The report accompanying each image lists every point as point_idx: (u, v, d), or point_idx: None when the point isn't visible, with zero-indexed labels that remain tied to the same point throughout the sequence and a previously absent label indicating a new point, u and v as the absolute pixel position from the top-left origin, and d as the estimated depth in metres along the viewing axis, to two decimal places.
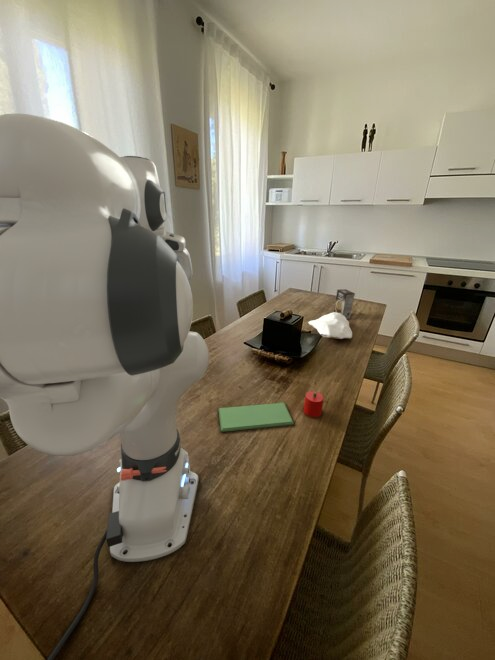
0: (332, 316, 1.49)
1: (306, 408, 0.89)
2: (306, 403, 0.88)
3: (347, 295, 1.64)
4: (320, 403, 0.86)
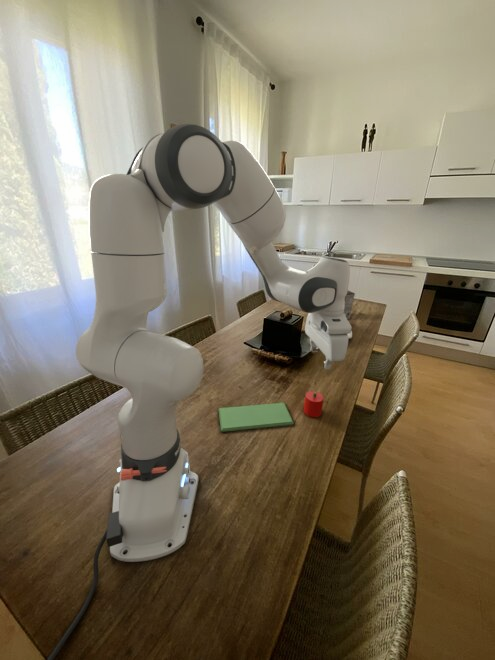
0: None
1: (306, 408, 0.89)
2: (306, 403, 0.88)
3: (347, 295, 1.64)
4: (320, 403, 0.86)
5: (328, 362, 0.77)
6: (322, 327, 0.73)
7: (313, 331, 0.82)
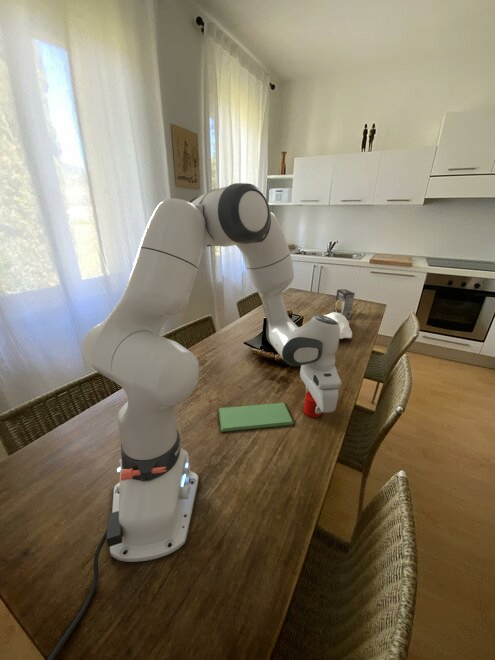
0: (332, 316, 1.49)
1: (306, 408, 0.89)
2: (306, 403, 0.88)
3: (347, 295, 1.64)
4: None
5: (319, 408, 0.84)
6: (314, 381, 0.79)
7: (307, 378, 0.89)
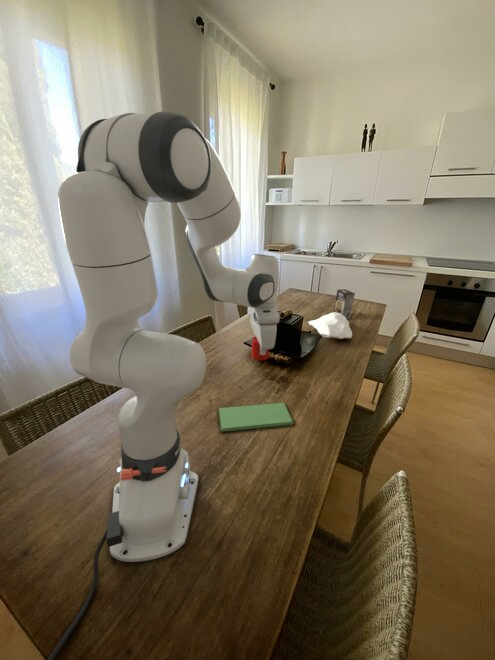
0: (332, 316, 1.49)
1: (252, 351, 0.89)
2: (252, 346, 0.89)
3: (347, 295, 1.64)
4: None
5: (262, 348, 0.85)
6: (254, 318, 0.80)
7: (253, 322, 0.90)
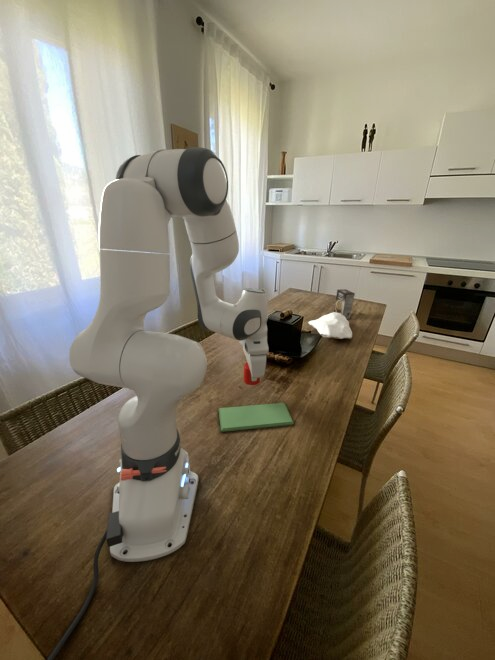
0: (332, 316, 1.49)
1: (244, 377, 0.95)
2: (244, 372, 0.94)
3: (347, 295, 1.64)
4: None
5: None
6: (245, 348, 0.85)
7: (245, 349, 0.95)
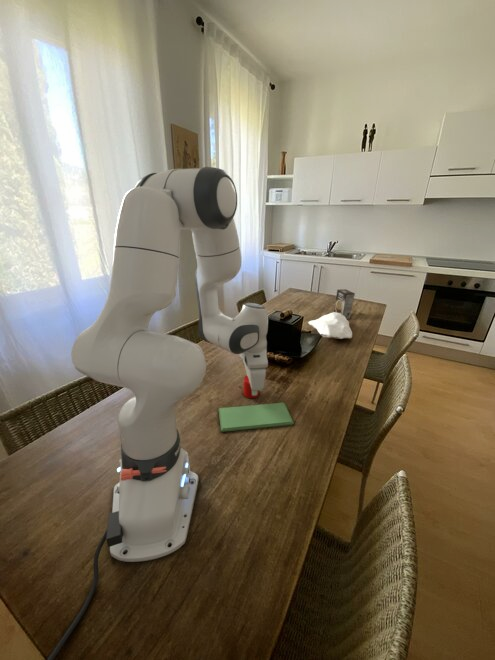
0: (332, 316, 1.49)
1: (244, 390, 0.97)
2: (244, 385, 0.96)
3: (347, 295, 1.64)
4: None
5: None
6: (245, 361, 0.87)
7: None
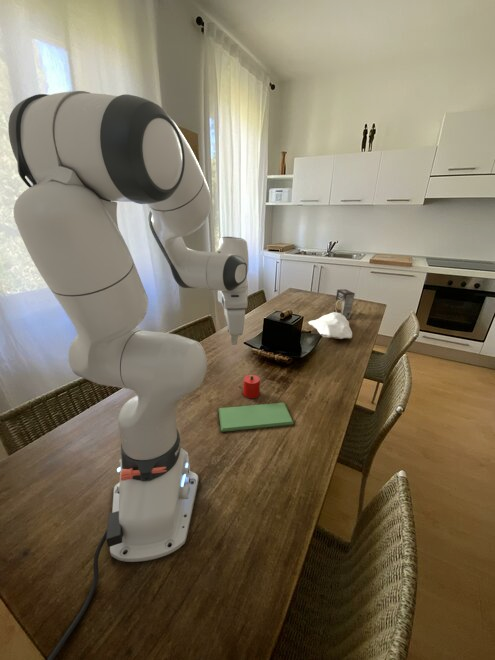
0: (332, 316, 1.49)
1: (244, 390, 0.97)
2: (244, 385, 0.96)
3: (347, 295, 1.64)
4: (255, 385, 0.95)
5: (233, 337, 0.81)
6: (222, 303, 0.77)
7: (225, 310, 0.87)
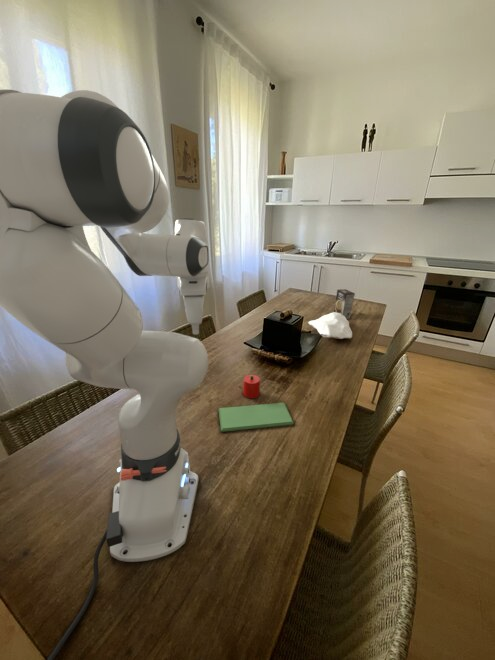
0: (332, 316, 1.49)
1: (244, 390, 0.97)
2: (244, 385, 0.96)
3: (347, 295, 1.64)
4: (255, 385, 0.95)
5: (193, 326, 0.77)
6: None
7: None
